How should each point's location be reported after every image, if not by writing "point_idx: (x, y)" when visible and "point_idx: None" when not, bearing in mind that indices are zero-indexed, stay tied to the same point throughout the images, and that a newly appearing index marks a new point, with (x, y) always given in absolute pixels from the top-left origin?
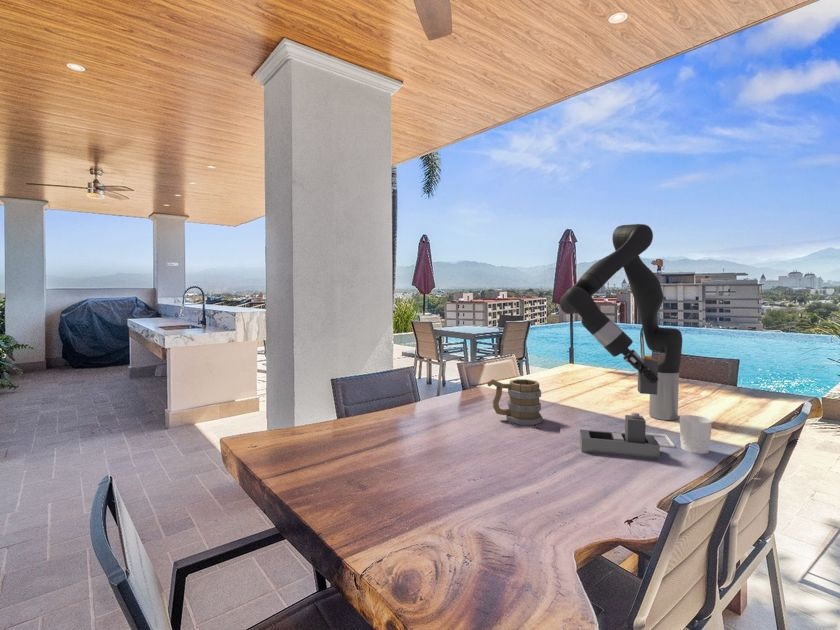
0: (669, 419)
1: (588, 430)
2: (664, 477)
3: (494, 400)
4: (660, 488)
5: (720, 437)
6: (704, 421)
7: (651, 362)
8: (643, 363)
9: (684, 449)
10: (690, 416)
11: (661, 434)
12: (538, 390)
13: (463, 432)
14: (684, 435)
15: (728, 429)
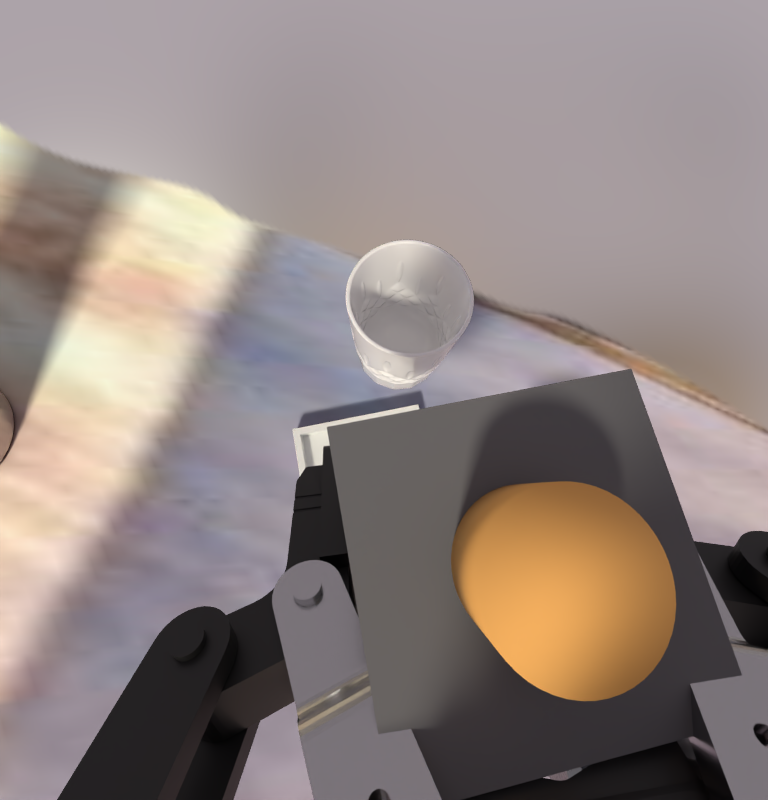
0: (9, 411)
1: (573, 775)
2: (669, 445)
3: None
4: (754, 457)
5: (189, 261)
6: (367, 269)
7: (654, 492)
8: (743, 641)
9: (425, 377)
10: (352, 313)
11: (300, 446)
12: None
13: None
14: (439, 363)
15: (74, 224)
